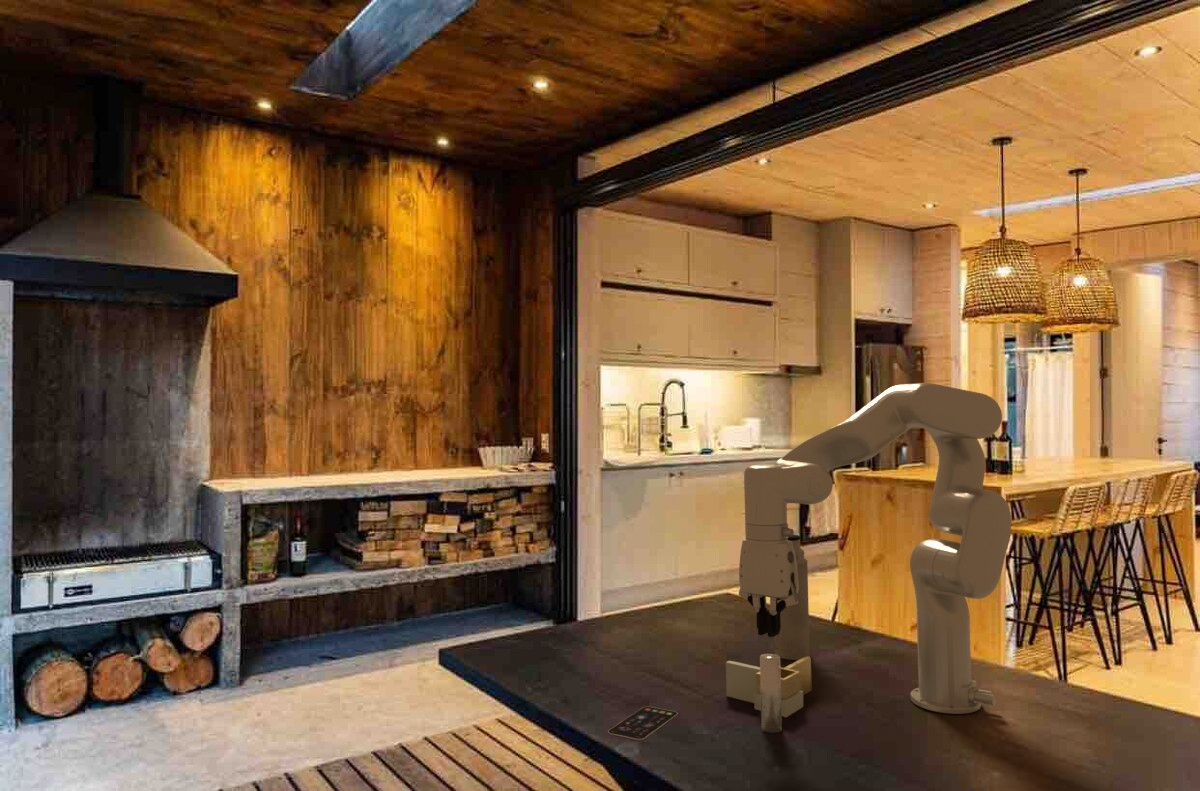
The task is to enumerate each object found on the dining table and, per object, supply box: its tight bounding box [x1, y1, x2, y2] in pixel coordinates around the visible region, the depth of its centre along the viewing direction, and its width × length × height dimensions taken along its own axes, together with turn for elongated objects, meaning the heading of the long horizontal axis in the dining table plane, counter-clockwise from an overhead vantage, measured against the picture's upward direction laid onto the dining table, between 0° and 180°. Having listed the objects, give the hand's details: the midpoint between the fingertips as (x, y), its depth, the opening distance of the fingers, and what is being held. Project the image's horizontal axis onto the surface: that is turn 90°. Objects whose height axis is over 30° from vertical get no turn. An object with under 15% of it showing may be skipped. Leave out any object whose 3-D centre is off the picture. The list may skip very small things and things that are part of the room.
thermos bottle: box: [773, 534, 811, 661], centre depth 190 cm, size 8×8×28 cm
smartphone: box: [607, 706, 679, 742], centre depth 150 cm, size 8×1×15 cm
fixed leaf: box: [756, 656, 812, 699], centre depth 160 cm, size 6×16×7 cm, turn 139°
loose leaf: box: [725, 660, 804, 718], centre depth 159 cm, size 15×7×7 cm, turn 49°
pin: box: [759, 653, 783, 734], centre depth 146 cm, size 4×4×13 cm
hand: (768, 633), depth 146 cm, fingers closed
